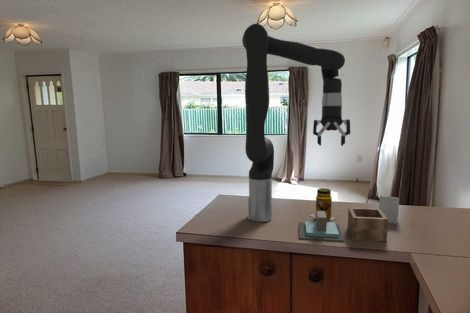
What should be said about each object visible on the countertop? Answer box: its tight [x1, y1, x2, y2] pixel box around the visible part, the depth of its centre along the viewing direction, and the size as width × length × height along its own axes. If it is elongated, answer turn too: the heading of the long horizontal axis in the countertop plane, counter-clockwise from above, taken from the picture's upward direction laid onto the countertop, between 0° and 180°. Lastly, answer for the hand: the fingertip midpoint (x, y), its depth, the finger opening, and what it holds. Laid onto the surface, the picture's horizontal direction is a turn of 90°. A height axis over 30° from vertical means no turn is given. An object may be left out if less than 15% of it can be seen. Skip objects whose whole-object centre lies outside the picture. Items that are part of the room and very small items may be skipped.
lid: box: [304, 211, 339, 237], centre depth 119 cm, size 11×11×6 cm
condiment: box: [309, 187, 337, 222], centre depth 133 cm, size 7×8×12 cm
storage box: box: [347, 207, 389, 243], centre depth 115 cm, size 11×11×8 cm
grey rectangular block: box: [378, 195, 400, 225], centre depth 128 cm, size 4×7×10 cm, turn 59°
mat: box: [298, 221, 345, 243], centre depth 119 cm, size 15×15×1 cm
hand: (331, 145), depth 131 cm, fingers open, 8 cm apart
